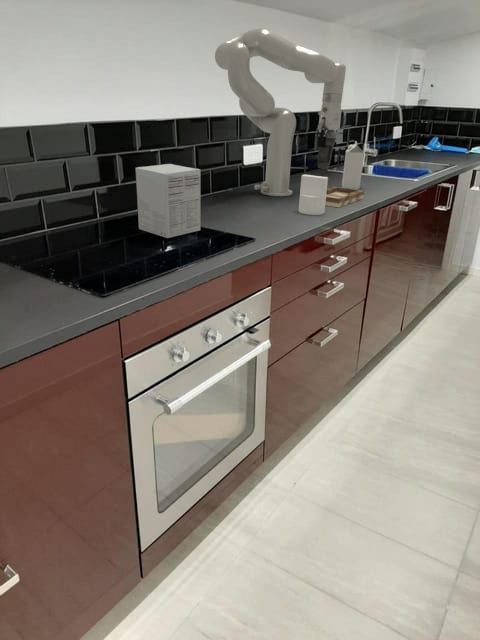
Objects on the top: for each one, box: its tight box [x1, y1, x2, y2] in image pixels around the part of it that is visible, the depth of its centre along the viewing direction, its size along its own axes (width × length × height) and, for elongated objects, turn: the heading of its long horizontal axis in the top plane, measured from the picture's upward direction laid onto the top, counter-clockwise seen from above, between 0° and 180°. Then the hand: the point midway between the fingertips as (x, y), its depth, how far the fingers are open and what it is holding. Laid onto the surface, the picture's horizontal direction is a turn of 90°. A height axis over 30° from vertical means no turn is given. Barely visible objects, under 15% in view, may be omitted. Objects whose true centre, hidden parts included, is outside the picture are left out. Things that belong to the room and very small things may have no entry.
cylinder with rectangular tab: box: [298, 174, 329, 216], centre depth 169 cm, size 9×9×12 cm
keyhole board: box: [325, 185, 365, 208], centre depth 189 cm, size 22×13×3 cm, turn 144°
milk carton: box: [341, 141, 365, 190], centre depth 212 cm, size 7×7×19 cm
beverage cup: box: [317, 130, 337, 170], centre depth 199 cm, size 7×7×20 cm
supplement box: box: [135, 163, 201, 239], centre depth 140 cm, size 13×13×18 cm
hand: (326, 146), depth 199 cm, fingers closed on beverage cup, 7 cm apart
